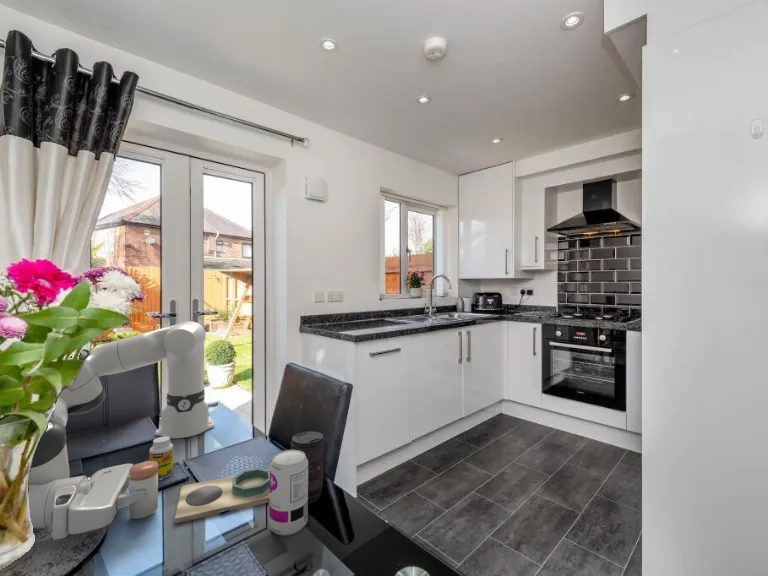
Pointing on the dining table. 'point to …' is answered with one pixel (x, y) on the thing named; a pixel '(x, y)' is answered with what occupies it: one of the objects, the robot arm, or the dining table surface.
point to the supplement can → (288, 492)
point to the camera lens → (311, 460)
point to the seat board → (223, 494)
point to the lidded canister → (148, 479)
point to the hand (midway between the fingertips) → (148, 485)
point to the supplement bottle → (162, 456)
